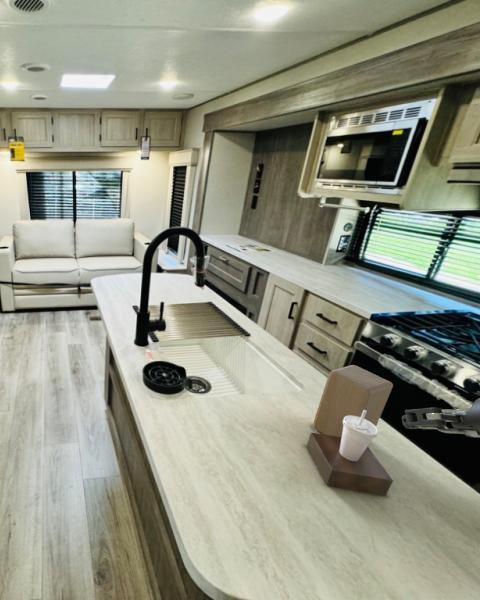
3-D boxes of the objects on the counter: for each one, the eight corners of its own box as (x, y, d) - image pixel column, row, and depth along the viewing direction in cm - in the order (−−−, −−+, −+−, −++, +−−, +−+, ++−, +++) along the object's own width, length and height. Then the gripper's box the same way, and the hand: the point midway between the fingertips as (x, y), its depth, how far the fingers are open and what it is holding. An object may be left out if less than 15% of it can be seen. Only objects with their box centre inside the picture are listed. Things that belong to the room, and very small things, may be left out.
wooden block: (334, 418, 96) (353, 362, 88) (371, 442, 87) (396, 383, 79) (310, 426, 93) (328, 370, 85) (346, 452, 84) (369, 391, 77)
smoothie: (326, 449, 79) (342, 405, 74) (342, 441, 81) (358, 397, 76) (356, 469, 73) (375, 423, 68) (371, 460, 76) (391, 414, 71)
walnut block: (357, 454, 83) (363, 440, 81) (385, 496, 72) (393, 480, 71) (306, 446, 86) (310, 432, 84) (326, 485, 75) (332, 470, 73)
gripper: (600, 399, 40) (479, 410, 54) (461, 384, 43) (382, 398, 58) (630, 464, 37) (494, 457, 52) (478, 442, 40) (390, 441, 55)
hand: (435, 426), depth 55 cm, fingers open, 8 cm apart
